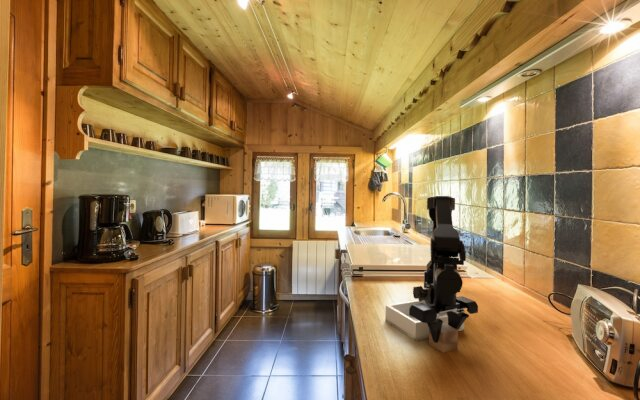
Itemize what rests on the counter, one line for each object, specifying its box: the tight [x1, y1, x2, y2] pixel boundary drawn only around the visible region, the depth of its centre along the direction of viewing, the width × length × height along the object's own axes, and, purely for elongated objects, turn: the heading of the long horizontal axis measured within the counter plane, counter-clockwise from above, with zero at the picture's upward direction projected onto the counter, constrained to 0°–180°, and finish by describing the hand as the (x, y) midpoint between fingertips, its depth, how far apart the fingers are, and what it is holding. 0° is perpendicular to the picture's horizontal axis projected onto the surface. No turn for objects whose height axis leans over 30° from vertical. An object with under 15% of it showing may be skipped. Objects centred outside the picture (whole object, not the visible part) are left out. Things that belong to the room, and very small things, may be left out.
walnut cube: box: [428, 322, 459, 353], centre depth 85 cm, size 5×5×5 cm
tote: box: [384, 299, 465, 342], centre depth 97 cm, size 18×14×5 cm
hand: (443, 340), depth 85 cm, fingers closed on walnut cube, 5 cm apart
